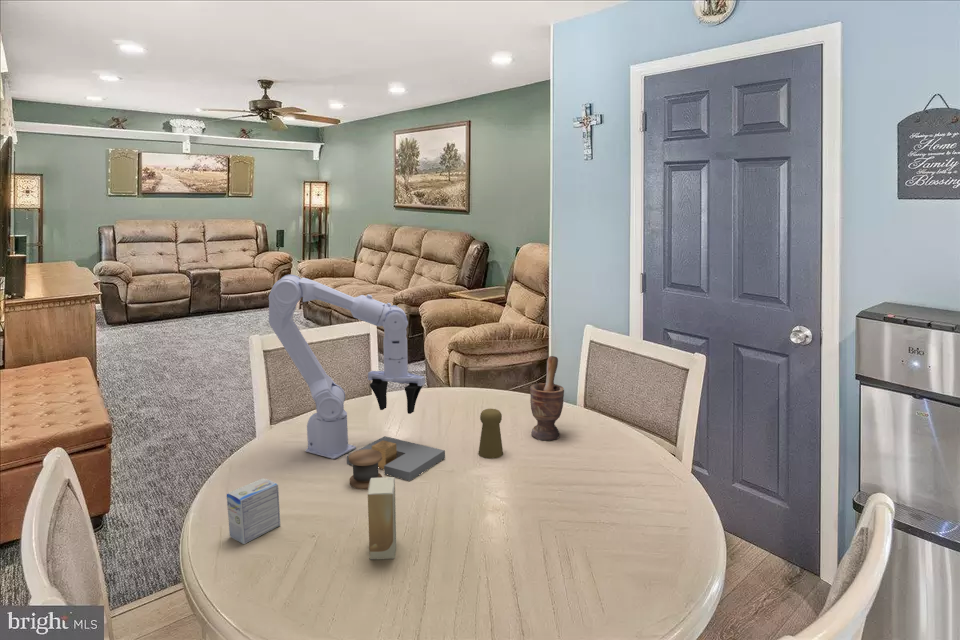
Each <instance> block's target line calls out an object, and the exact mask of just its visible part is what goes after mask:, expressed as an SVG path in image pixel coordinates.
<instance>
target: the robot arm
mask: <svg viewBox="0 0 960 640" xmlns="http://www.w3.org/2000/svg"><path fill="white" fill-rule="evenodd" d="M301 298H302V299H301ZM300 300H302V303H305V302H310V301H316V300H317V301H321V302H324V303H326V304H330V305H332V306H333V305H334V306H336V307H339V308H343V309H345V310H348V311H349V312H350V313H351V316H352V317H353V318H354V319H357V320H360V321H362V322H365V323H368V324H371V325H372V326H376V327H382V328H383V330H384V332H383V334H384V337H383V339H382V341H383V343H382V344H383V370H371V371H368V372H367V380H368V381H371V382H370V383H369V388H370V389H371V390H372V392H373V393H374V396H375V398H376V400H377V404H378V406H379V407H378V408H379V410H380V411H383V410H385V409H386V408H387V406H388V405H387V404H388V401H387V400H388V399H387V397H388V396H387V391H388V384H389V383H398V384H399V383H400V384H406V386H405V387H404V392H405V396H406V403H407V404H406V406H407V408H406V409H407V410H406V411H407V414H409V415H410V414H412V413H414V412H415V407H416V403H417V400H418V396H419V394H420V392H421V390H422V388H423V386H424V385H426V380H425V379H426V377H425V376H423V375H419V374H415V373H411V372H409V371H408V369H409V366H408V365H409V364H408V360H409V359H408V358H409V357H408V338H407V335H408V334H407V333H408V331H407V328H408V325H409V321H408V318H407V314H406V311H404V309H403V308H401V307H400V306H398V305H394V304H393V305H392V303H391V302H387V303H384V302H382V301H379V300H377V299H375V298H373V295H372V294H369V293H368V294H366V295H364V294H360V295H358V296H355V297H354V296H352V295H349V294H347V293H344V292H342V291H339V290H338V289H335V288H333V287H330V286H328V285H325V284H323V283H321V282H319V281H316V280H312V279H310V278H307V277H300V276H299V275H295V274H285V275H284V276H282V277H281V278H280V279H278V280H277V281H276V282H275V283H274V284H273V286H272V287H271V290H270V292H269V295H268V323H269V325H270V327H271V329H272V330H273V332H274V334H275V336H276V337H277V338H278V339H279V342H280V343H281V345H282V346H283V348H284V350H285V352H287V354H288V356H289V358H290V359H291V360H292V363H293V364H294V365H295V367H296V368H297V369H298V372H299V373H300V374H301V377H302V378H303V379H304V381H305V383H306V384H307V386H308V387H309V390H310V394H311V398H312V399H313V401H314V403H315V409H316V412H314V413H313V414H312V415H311V416H310V417H309V418H308V421H307V425H306V435H307V437H306V438H307V448H306V449H305V452H307V453H310V454H313V455H317V456H321V457H325V458H328V459H332V460H336V459H337V458H340V457H342V456H343V455H345V454H347V453H349V452H351V451H353V450H355V449H357V446H356V445H353V444H350V443H349V436H348V434H349V430H348V412H347V410H345V407H344V406H345V405H344V404H345V400H346V392H345V390H344V389H343V388H342V387H341V385H339V384H337V383H335V381H334V380H333V378H332V377H331V376H330V375H328V374H327V373H326V370H325V369H324V368H323V366H322V364H321V362H320V361H319V359H318V358H317V356H316V355H315V353H314V351H313V349H311V346H310V345H309V344H308V341H307V340H306V338H305V337H304V336H303V334H302V332H301V331H300V329H299V327H298V326H297V324H296V322H295V321H294V319H293V317H294V313H295V311H296V309H297V304H298V303H299V302H300ZM407 384H408V385H407Z"/></svg>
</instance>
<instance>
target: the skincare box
mask: <svg viewBox="0 0 960 640" xmlns="http://www.w3.org/2000/svg"><path fill="white" fill-rule="evenodd" d="M396 509H397V508H396V477H393V476H388V477H387V476H386V477H384V476H382V477H381V478H371V479H370V482H369V488H368V489H367V513H368V516H367V517H368V537H369V538H368V544H369V545H368V548H369V550H368V551H369V552H368V553H369V560H392V559H395V558H396V551H397V550H396V549H397V519H396V518H397V515H396V514H397V512H396Z"/></svg>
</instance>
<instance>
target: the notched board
mask: <svg viewBox="0 0 960 640" xmlns="http://www.w3.org/2000/svg"><path fill="white" fill-rule="evenodd" d="M383 440H384V441H388V442H391V443H395V444H396V448H397V459H395V460H393V461H391V462H390V463H388V464H386V465H384V470H383V471H384V472H383V473H385V474H384V475H386V474H388V475H387V476H390V475H391V476H390V477H393V476H395V478H397V477H399V478H398V479H400V478H402V479H401V480H404V479H405V481H408V480H409V481H408V482H410V480H411V481H412V480H414V479H415V478H417V477H419V476H420V475H421V473H422V472H423V473H425V472H426V471H428V470H429V469H431V468H432V467H434V466H435V465H437V464H438V462H439V463H440V462H441V460H442V459H443V460H445V459H446V451H445V450H444V449H440V448H437V447H432V446H427V445H424V444H419V443H416V442H413V441H407V440H403V439H399V438H393V437H389V436H382V437H380V438H379V439H377V440H375V441H372V442H371V443H369V444H367V445H365V446H363V447H361V448H358V449H357V450H356V451H358V450H364V449H372V446H373V445H375V444H377V443H379V442H381V441H383ZM350 454H351V453H349V454H346V464H347V465H350V466H353V464H351V463H350V462H349V455H350ZM444 458H445V459H444ZM443 460H442V461H443ZM436 463H437V464H436ZM433 465H434V466H433ZM430 467H431V468H430ZM427 469H428V470H427ZM424 471H425V472H424ZM423 473H422V474H423ZM419 474H420V475H419ZM416 476H417V477H416ZM413 478H414V479H413Z"/></svg>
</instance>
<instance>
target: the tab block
mask: <svg viewBox="0 0 960 640" xmlns="http://www.w3.org/2000/svg"><path fill="white" fill-rule="evenodd" d="M372 450H377V451H379V452H381V454H382V459H381V461H380V462H378V467H379V468H378V469H380V468H382V469H381V470H383V469H384V465H386V464H388V463H390V462H391V461H393V460H395V459H397V448H396V444H395V443H391V442H388V441H384V440H383V441H381V442H379V443H377V444H375V445H373V446H372Z"/></svg>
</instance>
